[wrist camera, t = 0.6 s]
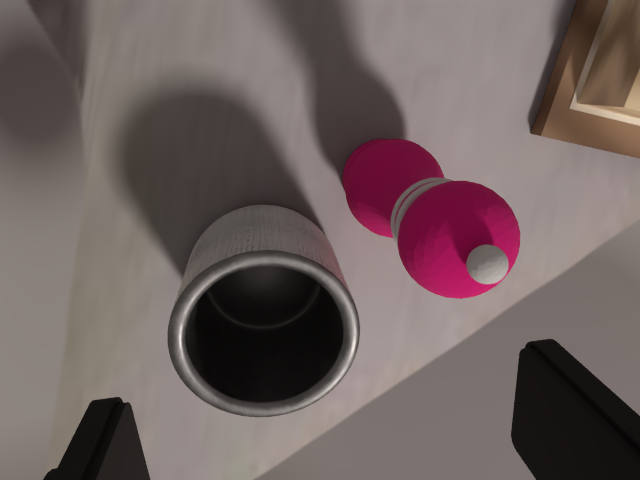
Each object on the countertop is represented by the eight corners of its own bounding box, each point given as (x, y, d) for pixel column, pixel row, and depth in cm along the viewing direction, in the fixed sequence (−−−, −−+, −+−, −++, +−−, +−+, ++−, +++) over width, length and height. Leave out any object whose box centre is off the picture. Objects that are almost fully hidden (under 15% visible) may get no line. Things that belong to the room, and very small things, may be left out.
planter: (343, 319, 42) (372, 398, 32) (208, 346, 42) (193, 437, 31) (323, 188, 38) (348, 231, 28) (172, 216, 37) (139, 271, 27)
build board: (606, -83, 34) (622, -91, 32) (740, -37, 36) (761, -42, 35) (530, 133, 39) (541, 135, 37) (653, 161, 41) (668, 164, 40)
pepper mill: (367, 115, 36) (484, 156, 18) (437, 160, 38) (608, 240, 20) (320, 192, 38) (382, 304, 19) (390, 232, 40) (507, 368, 21)
